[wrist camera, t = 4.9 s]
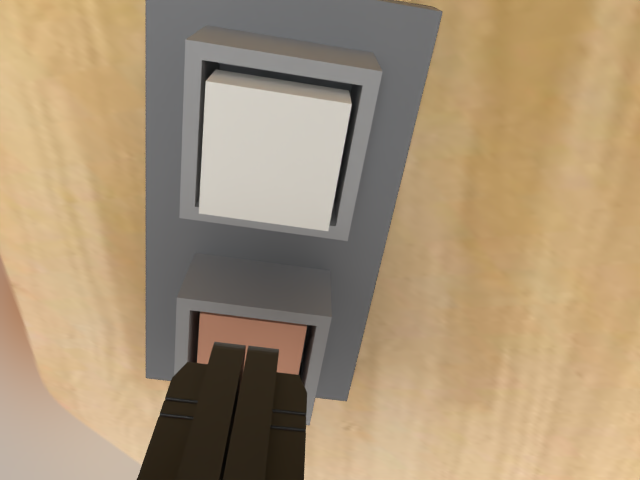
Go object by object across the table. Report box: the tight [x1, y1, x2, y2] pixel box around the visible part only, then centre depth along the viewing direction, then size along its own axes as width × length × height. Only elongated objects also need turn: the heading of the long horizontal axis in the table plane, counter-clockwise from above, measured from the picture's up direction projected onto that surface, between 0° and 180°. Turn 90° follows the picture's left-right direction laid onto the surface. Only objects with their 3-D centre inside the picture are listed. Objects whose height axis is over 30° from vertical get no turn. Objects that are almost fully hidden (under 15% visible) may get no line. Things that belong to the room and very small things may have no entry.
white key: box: [199, 69, 352, 231], centre depth 20 cm, size 5×5×2 cm
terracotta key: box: [197, 312, 307, 375], centre depth 27 cm, size 5×5×2 cm
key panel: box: [146, 0, 442, 425], centre depth 26 cm, size 22×12×6 cm, turn 171°
